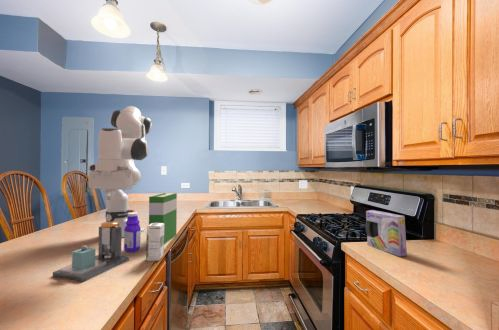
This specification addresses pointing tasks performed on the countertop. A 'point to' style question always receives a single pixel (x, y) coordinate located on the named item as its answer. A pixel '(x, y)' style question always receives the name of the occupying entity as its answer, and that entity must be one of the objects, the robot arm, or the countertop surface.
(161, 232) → the syrup box
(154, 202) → the green striped box
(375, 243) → the cake pan box
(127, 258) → the base
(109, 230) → the press ram
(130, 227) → the bottle
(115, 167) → the robot arm
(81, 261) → the block
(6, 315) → the countertop surface
